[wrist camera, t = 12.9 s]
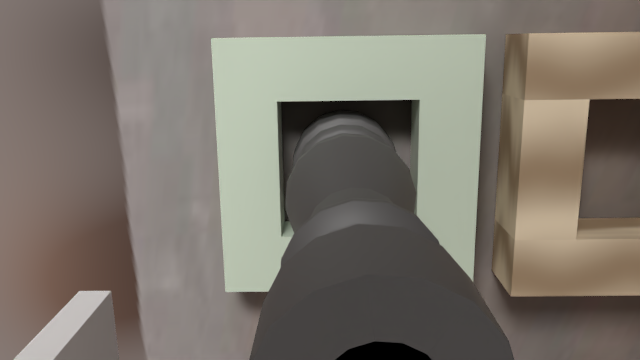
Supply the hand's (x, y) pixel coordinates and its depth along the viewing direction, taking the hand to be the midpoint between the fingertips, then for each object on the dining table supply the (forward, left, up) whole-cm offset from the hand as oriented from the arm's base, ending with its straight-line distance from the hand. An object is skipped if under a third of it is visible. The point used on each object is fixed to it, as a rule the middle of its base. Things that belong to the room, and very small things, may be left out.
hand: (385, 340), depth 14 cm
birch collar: (0, +17, -23) cm, 28 cm away
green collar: (0, 0, -23) cm, 23 cm away
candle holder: (0, 0, -23) cm, 23 cm away
